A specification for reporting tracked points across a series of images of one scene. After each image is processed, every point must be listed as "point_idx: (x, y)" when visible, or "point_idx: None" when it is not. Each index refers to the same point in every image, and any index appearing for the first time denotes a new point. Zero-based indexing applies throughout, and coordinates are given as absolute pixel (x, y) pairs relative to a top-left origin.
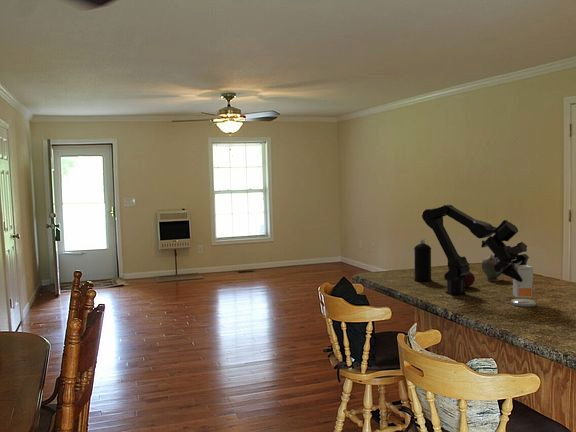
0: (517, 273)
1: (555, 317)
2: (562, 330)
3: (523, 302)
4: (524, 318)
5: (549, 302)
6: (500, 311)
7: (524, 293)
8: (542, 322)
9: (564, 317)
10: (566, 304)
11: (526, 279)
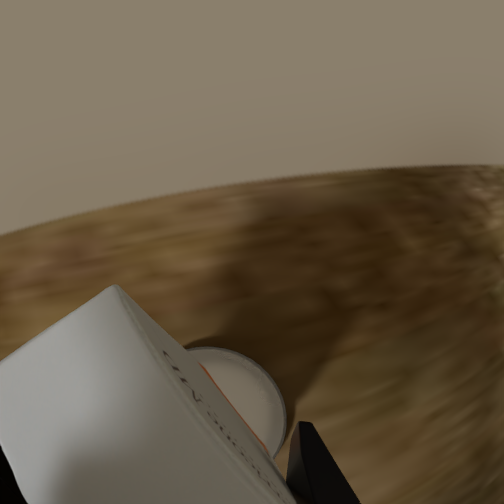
0: (340, 499)
1: (392, 215)
2: (492, 182)
3: (243, 410)
4: (478, 310)
5: None
6: (436, 446)
7: (235, 409)
8: (477, 240)
9: (368, 189)
10: (112, 223)
11: (221, 399)
